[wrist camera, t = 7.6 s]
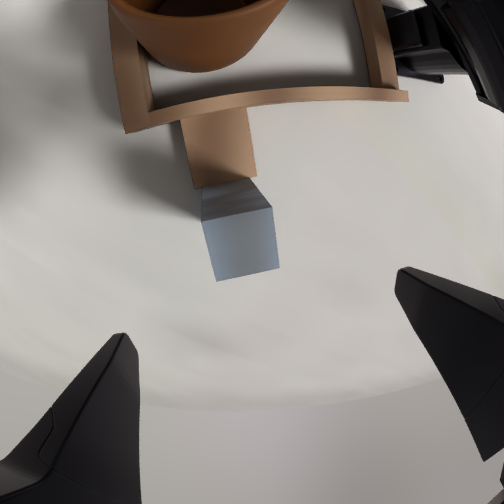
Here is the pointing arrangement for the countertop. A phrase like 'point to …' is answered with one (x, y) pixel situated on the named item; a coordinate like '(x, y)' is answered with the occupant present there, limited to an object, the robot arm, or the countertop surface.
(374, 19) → the brown frame with handle
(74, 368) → the countertop surface
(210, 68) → the mug
